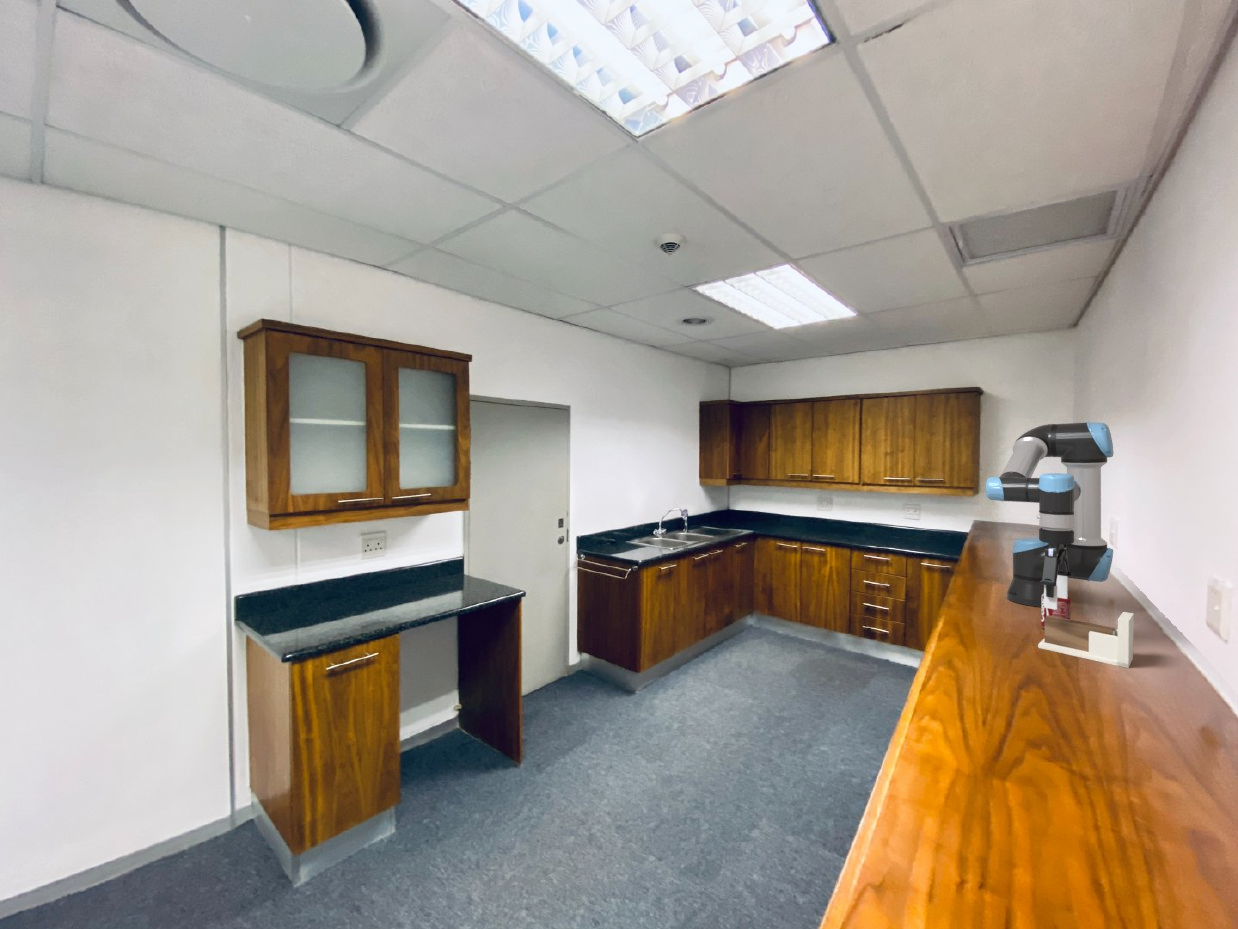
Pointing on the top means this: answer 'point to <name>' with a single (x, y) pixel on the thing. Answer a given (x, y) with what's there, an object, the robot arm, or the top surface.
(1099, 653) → the white slotted holder
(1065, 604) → the soda can
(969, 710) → the top surface
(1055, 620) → the brown rectangular block
